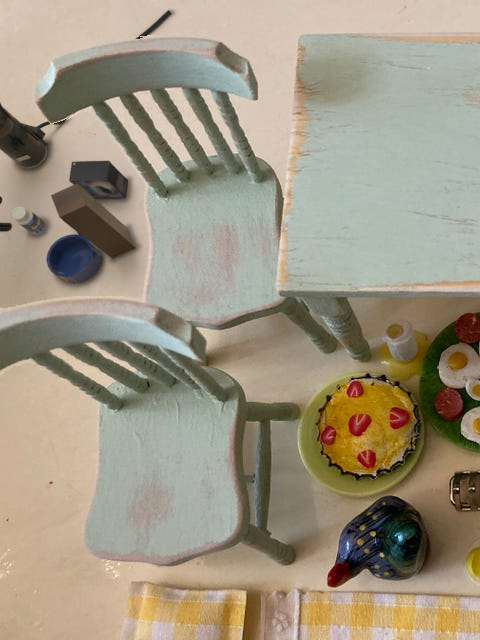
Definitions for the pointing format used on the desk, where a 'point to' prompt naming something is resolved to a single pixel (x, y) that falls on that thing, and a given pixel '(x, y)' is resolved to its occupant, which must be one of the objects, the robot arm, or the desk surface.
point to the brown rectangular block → (93, 220)
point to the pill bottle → (28, 220)
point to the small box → (99, 179)
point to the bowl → (74, 258)
